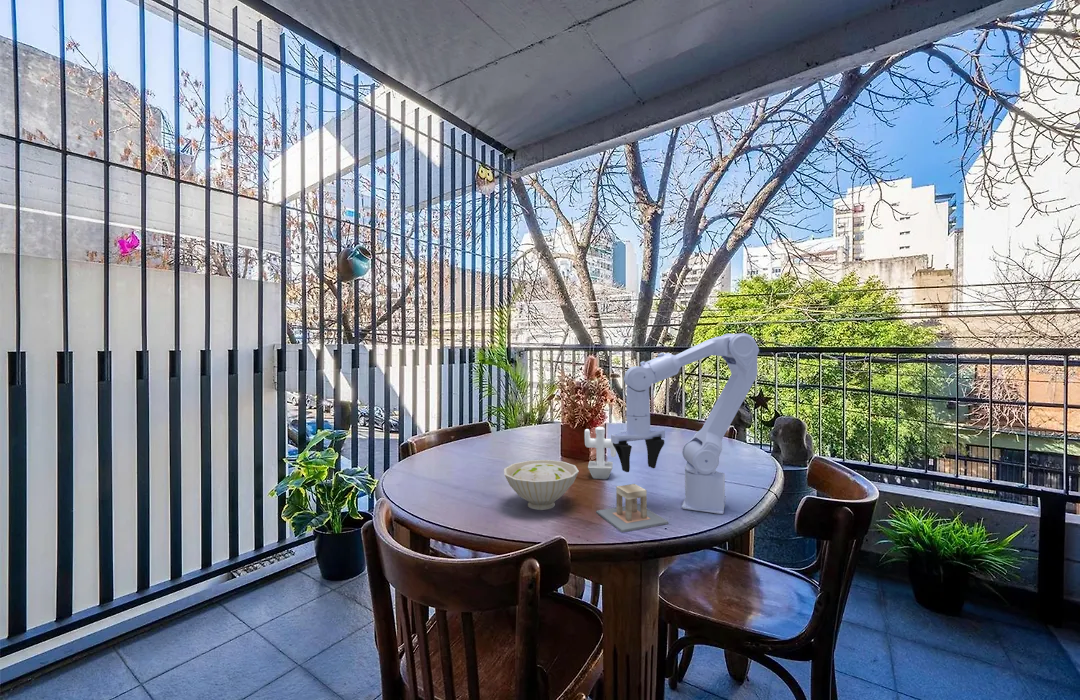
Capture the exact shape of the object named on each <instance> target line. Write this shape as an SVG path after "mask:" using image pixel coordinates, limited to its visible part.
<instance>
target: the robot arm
mask: <svg viewBox="0 0 1080 700" xmlns="http://www.w3.org/2000/svg"><path fill="white" fill-rule="evenodd" d="M759 353H760V349H759V346H758V344H757V342H756V340H755V339H754V337H753V336H752V335H751V334H748V333H746V332H745V333H744V332H740V333H731V332H730V333H724V334H723V335H721V336H715V337H712V338H709V339H706V340H704V341H703V342H702V341H701V342H700V343H698V344H696V345H694V346H691V347H690V348H688V349H685V350H683V351H682V352H679V353H676V354H672V353H670V352H666V353H664V352H659V353H658V354H657V357H655V358H652V359H650V360H647V361H645V360H643V361H641V362H639V363H640V364H639V365H640V366H638V365H637V366H636V365H635V366H631V367H629V368H627V370H626V371H625V373H624V376H623V380H624V381H623V382H624V383H625V385H626V390H625V391H626V396H625V397H626V398H625V401H626V402H625V403H626V404H625V408H626V410H625V411H626V431H623V432H618V433H613V434H610V439H611V442H612V443H613V446H614V448H615V449H616V455H618V458H619V461H620V465H621V470H622V471H623V472H624V473H629V472H630V469H631V465H630V462H631V461H630V459H631V453H632V449H633V447H632V445H630V444H629V442H635V441H644V442H645V445H646V451H647V466H648V467H649V468H651V469H655V468H656V467H657V463H658V459H659V455H660V453H661V450H662V449H663V447H664V445H665V440H664V439H665V438H666V430H665V429H660V428H658V429H655V428H654V429H651V404H650V403H651V402H650V399H651V398H650V387H651V386H652V384H653V385H654V384H656V383H657V384H658V383H659V382H662V381H664V380H667V379H669V378H671V377H674V376H676V375H678V374H679V372H680V371H681V370H680V369H681V368H682V367H684V366H686V365H689V364H692V363H695V362H697V361H700V360H703V359H704V358H707V357H710V356H718V357H719V356H721V358H722V359H723V360H724V361H725V362H726V364H727V366H728V368H729V370H730V376H729V378H728V380H727V382H726V383H725V386H724V387H723V389H722V391H721V392H720V394H719V397H718V398H717V400H716V402H715V404H714V405H713V407H712V409H711V411H710V413H709V415H708V417H707V418H706V419H705V422H704V424H703V426H702V428H700V429H699V430H698V431H696V432H695V433H694V435H693V436H692V438H691V439H690V440H689V441H687V442H685V444H684V445H683V447H682V457H683V458H684V460H685V461H686V465H685V466H684V491H685V492H684V500H683V502H682V504H681V509H684V510H689V511H697V512H705V513H712V514H713V513H714V514H720V515H723V514H724V513H725V505H726V503H727V496H725V495H726V492H725V491H726V488H725V486H726V484H725V483H726V482H725V479H726V478H725V473H724V472H720V471H717V468H718V467H719V465H720V464H719V463H720V455H721V453H722V451H723V442H722V441H723V438H724V437H725V435H726V434H727V431H728V430H729V427H730V425H731V424H732V422H733V421H734V419H735V417H736V415H737V413H738V411H739V410H740V408H741V405H742V404H743V402H744V400H745V398H746V397H747V395H748V393H749V392H750V390H751V388H752V386H753V384H754V382H755V381H756V379H757V377H758V355H759Z"/></svg>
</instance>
